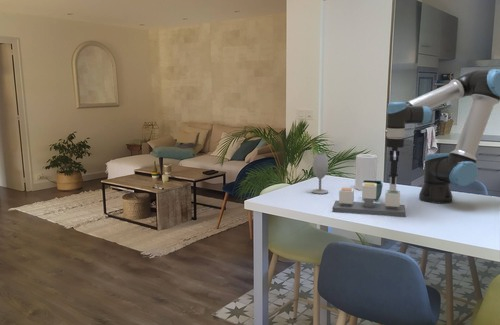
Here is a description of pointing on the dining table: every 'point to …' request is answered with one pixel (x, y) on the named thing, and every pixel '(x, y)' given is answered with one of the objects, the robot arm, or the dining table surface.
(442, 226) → the dining table surface
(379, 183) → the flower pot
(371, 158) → the cup
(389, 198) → the key teal
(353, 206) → the keypad
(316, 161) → the wineglass
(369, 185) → the key mustard
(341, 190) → the key terracotta
